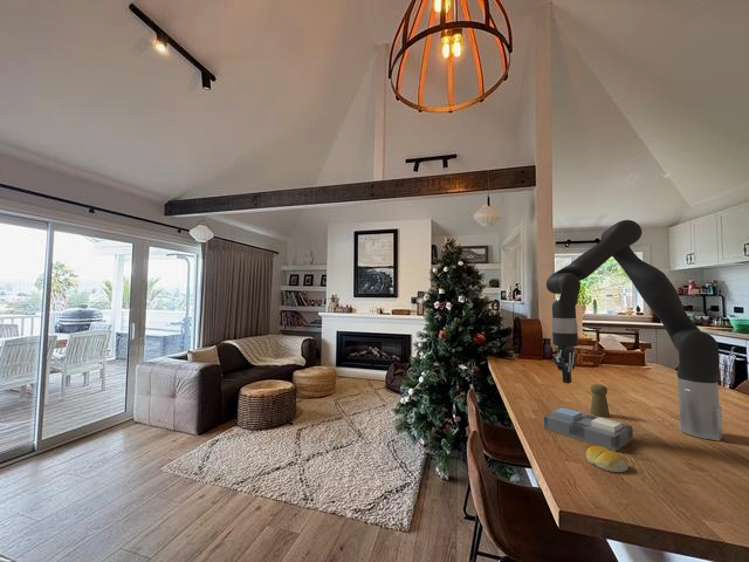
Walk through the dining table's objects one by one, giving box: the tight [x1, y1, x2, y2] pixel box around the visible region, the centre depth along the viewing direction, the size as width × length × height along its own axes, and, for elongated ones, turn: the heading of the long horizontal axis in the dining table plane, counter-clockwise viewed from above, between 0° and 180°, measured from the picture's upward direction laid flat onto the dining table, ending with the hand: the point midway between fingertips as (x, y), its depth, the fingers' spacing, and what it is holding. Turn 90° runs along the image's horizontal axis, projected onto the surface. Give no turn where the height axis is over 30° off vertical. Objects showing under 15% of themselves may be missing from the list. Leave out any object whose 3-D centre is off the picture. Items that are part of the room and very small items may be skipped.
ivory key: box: [591, 416, 623, 433], centre depth 99 cm, size 6×6×2 cm
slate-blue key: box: [553, 407, 582, 421], centre depth 108 cm, size 6×6×2 cm
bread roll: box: [585, 445, 629, 473], centre depth 84 cm, size 8×9×4 cm
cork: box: [590, 383, 611, 418], centre depth 121 cm, size 6×6×11 cm
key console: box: [543, 412, 634, 452], centre depth 103 cm, size 20×14×4 cm
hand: (567, 382), depth 108 cm, fingers closed
